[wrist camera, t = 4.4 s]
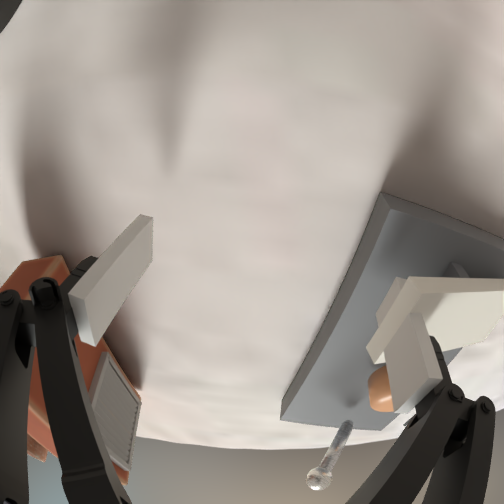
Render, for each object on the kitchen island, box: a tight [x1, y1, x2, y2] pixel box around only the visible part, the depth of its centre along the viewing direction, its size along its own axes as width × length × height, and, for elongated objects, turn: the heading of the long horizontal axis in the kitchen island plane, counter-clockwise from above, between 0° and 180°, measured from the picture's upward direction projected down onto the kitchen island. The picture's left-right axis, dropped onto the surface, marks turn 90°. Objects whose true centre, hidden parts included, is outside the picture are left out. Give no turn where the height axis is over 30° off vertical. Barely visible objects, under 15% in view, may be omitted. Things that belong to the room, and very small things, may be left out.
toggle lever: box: [306, 420, 354, 490], centre depth 22 cm, size 2×2×8 cm
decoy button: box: [368, 365, 394, 412], centre depth 20 cm, size 4×4×2 cm
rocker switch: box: [366, 276, 504, 364], centre depth 15 cm, size 5×11×1 cm, turn 79°
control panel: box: [0, 255, 142, 485], centre depth 23 cm, size 21×7×15 cm, turn 7°
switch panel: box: [280, 192, 504, 431], centre depth 22 cm, size 24×12×4 cm, turn 169°
